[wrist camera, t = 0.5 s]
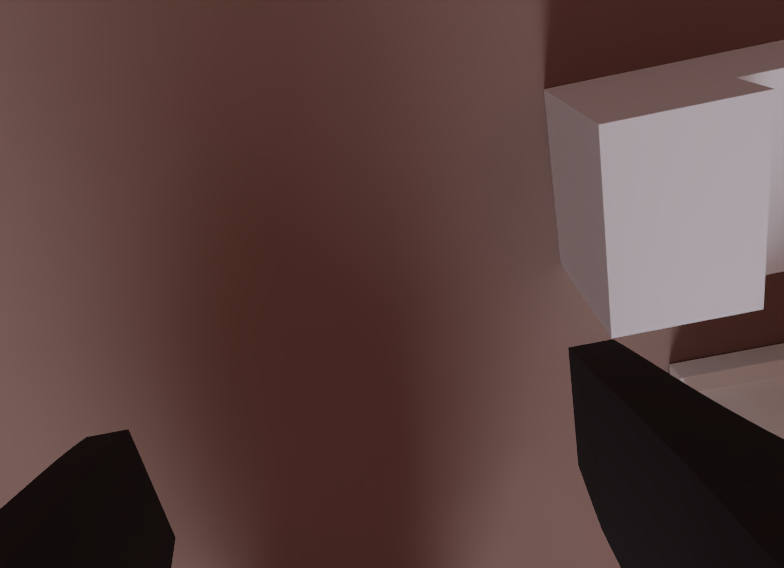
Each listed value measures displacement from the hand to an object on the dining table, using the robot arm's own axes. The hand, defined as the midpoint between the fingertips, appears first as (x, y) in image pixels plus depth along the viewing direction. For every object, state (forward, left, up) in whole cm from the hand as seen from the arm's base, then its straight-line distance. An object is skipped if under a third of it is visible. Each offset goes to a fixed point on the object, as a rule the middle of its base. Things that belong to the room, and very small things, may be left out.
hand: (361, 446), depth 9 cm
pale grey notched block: (0, -9, -10) cm, 13 cm away
